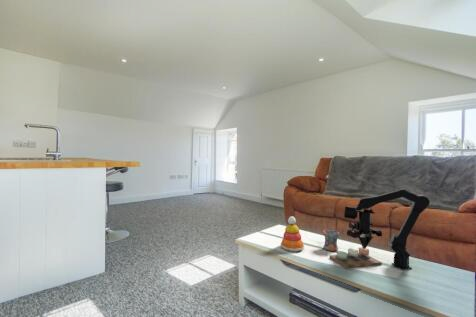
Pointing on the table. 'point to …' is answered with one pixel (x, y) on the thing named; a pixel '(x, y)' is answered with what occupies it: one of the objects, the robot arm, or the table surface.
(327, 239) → the mug
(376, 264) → the button board
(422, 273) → the table surface
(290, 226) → the stacking toy
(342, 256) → the sage button
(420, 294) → the table surface
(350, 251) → the cream button
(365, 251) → the terracotta button
